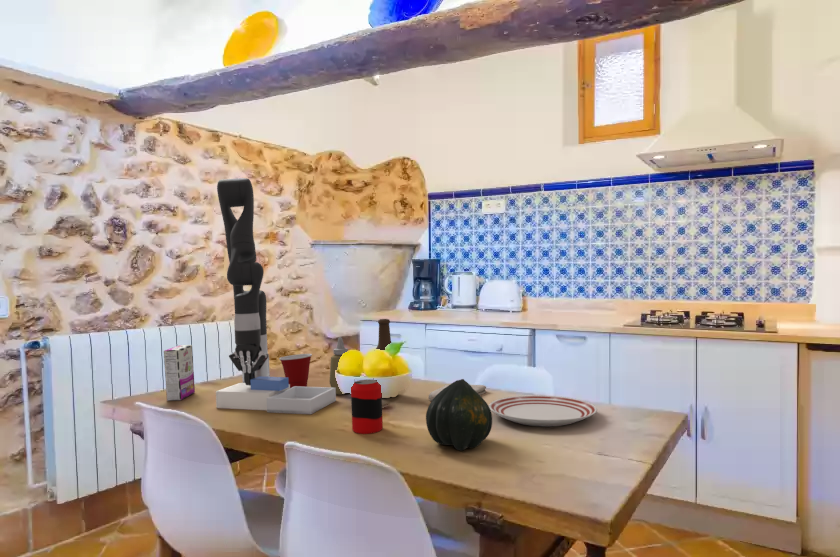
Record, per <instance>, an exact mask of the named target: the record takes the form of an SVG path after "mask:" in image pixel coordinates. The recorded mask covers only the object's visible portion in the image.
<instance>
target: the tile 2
mask: <svg viewBox="0 0 840 557" xmlns="http://www.w3.org/2000/svg"><path fill="white" fill-rule="evenodd" d="M271 377H272V378H269V379H266V380H265V390H272V391H281V390H283V389H286V388H288V387H289V380H288V377H285V376H271Z"/></svg>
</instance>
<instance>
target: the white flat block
mask: <svg viewBox="0 0 840 557" xmlns="http://www.w3.org/2000/svg"><path fill="white" fill-rule="evenodd" d="M287 389H290V384H289V387H288V388H286V389H283V390H281V391H272V390H251V385H246V383H243V382H238V383H235V384H233V385H230V386H227V387H223V388H221V389H219V390H216V391H215V406H216V407H215V408H216V409H232V410H249V411H250V410H253V411H267V399H266V398H268V397H271V396H273V395H275V394H278V393H280V392H282V391H285V390H287Z"/></svg>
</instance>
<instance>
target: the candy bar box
mask: <svg viewBox="0 0 840 557" xmlns="http://www.w3.org/2000/svg"><path fill="white" fill-rule="evenodd" d="M193 356H194V354H193V345H192V344H180V345H176V346H174V347H171V348H168V349H165V350H163V364H164V373H165V374H164V376H165V393H166V402H167V401H168V402H174V401H175V402H176V401H178V402H179V401H182V400H184V399H186V398H188V397H189V396H192V395H193V394H195V393H196V391H195V390H196V389H195V388H196V387H195V375H194V358H193Z"/></svg>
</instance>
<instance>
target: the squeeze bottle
mask: <svg viewBox="0 0 840 557" xmlns="http://www.w3.org/2000/svg"><path fill="white" fill-rule="evenodd" d="M347 351H348V352H349V348H348V347H345V343H344V340H343V337H341V336H339V337H338V338H337V343H336V348H333V355H331V357H330V370H329V385H330V387H332V388H336V395H338V396H340V395H342V392H341V391H340V389H339V387H338V384H337V381H336V378H335V370H337V367H338V362H339V359H340V357H341V356H342V354H343V353H345V352H347ZM342 396H343V395H342Z"/></svg>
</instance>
